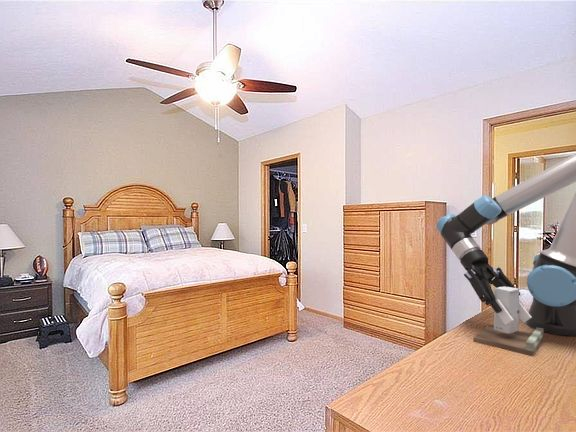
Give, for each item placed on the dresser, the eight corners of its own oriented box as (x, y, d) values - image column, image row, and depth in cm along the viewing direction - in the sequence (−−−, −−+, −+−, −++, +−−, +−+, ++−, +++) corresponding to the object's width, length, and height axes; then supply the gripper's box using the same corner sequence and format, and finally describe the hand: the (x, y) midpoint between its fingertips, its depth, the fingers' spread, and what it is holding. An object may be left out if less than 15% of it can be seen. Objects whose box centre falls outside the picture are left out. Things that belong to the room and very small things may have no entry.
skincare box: (509, 334, 97) (510, 291, 97) (492, 329, 101) (493, 287, 100) (519, 330, 100) (520, 288, 100) (503, 325, 104) (504, 285, 104)
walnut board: (489, 328, 111) (489, 318, 111) (543, 339, 101) (543, 328, 101) (473, 341, 99) (473, 330, 99) (532, 356, 89) (533, 343, 89)
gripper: (485, 261, 118) (532, 323, 103) (440, 263, 111) (484, 331, 96) (499, 247, 113) (552, 311, 98) (454, 248, 106) (503, 318, 91)
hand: (518, 321), depth 97 cm, fingers closed on skincare box, 6 cm apart
